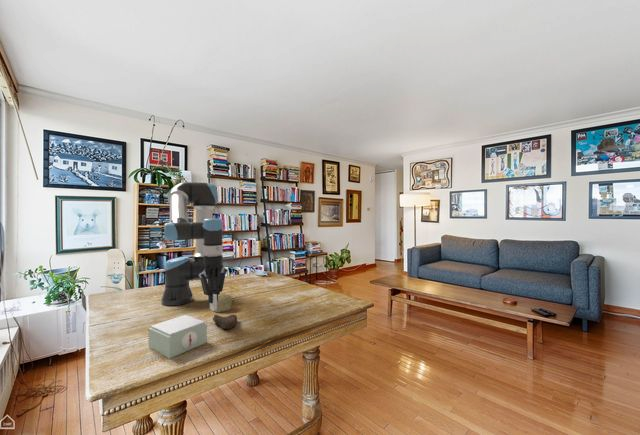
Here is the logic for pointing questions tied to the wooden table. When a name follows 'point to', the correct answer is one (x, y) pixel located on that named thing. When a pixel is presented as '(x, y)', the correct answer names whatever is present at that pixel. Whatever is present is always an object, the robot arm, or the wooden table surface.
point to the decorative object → (223, 302)
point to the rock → (225, 321)
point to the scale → (177, 335)
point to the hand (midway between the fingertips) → (213, 309)
